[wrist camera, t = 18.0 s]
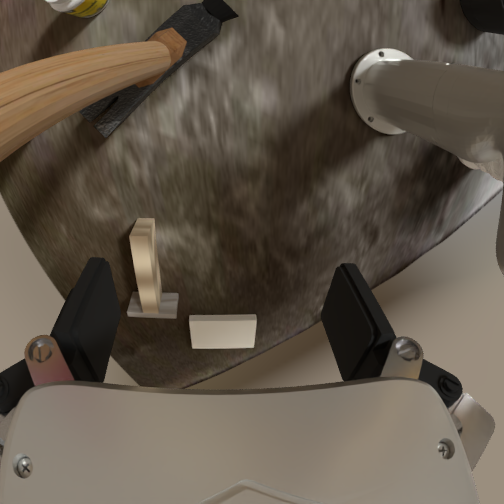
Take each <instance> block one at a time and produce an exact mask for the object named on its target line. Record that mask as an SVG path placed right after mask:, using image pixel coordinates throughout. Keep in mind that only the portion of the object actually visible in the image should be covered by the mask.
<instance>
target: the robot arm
mask: <svg viewBox="0 0 504 504" xmlns="http://www.w3.org/2000/svg"><path fill="white" fill-rule="evenodd" d="M355 80H357V82H355ZM350 95H351V100H352V103H353V106H354V108H355V110H356V112H357V114H358V115H359V116H360V118H361V119H362V120H363V121H364V122H365V123H366V124H367V125H368V126H370V127H371V128H373V129H375V130H377V131H379V132H381V133H385V134H394V135H396V134H401V133H404V132H409V133H411V134H413V135H416V136H418V137H420V138H422V139H424V140H426V141H428V142H430V143H433V144H435V145H437V146H439V147H441V148H443V149H444V150H446V151H448V152H450V153H452V154H454V155H456V156H458V157H460V158H461V159H464V160H466V161H469V162H472V163H486V162H490V161H493V160H496V159H498V158H500V157H503V162H504V71H500V70H493V69H487V68H481V67H475V66H468V65H461V64H453V63H445V62H436V61H425V60H413V59H412V58H411V57H409V56H408V55H407V54H405V53H403V52H401V51H399V50H396V49H392V48H379V49H375V50H372V51H370V52H368V53H366V54H364V55H363V56H362V57H361V58H360V59H359V60H358V62H357V63H356V65H355V66H354V69H353V71H352V73H351V78H350ZM368 118H369V120H368ZM503 183H504V176H503ZM496 257H497V262H498V265H499V268H500V270H501V272H502V274H503V275H504V185H503V195H502V205H501V211H500V219H499V225H498V231H497V239H496ZM120 315H121V311H120V306H119V303H118V299H117V295H116V291H115V287H114V282H113V278H112V274H111V269H110V265H109V262H108V261H105V259H104V258H97V257H91V258H90V259H89V261H88V262H87V264H86V266H85V268H84V270H83V272H82V274H81V276H80V278H79V280H78V282H77V284H76V285H75V287H74V288H73V289H72V290H71V291H70V293H69V295H68V297H67V299H66V301H65V303H64V305H63V307H62V309H61V312H60V314H59V316H58V318H57V321H56V323H55V325H54V327H53V330H52V332H51V334H50V336H48V335H40V336H37V337H35V338H33V339H32V340H31V341H30V342H29V343H28V344H27V346H26V348H25V359H23V360H21V361H20V362H18V363H16V364H14V365H13V366H11V367H10V368H8V369H6V370H4V371H3V372H1V373H0V504H480V502H479V498H478V494H477V489H476V485H475V482H474V478H473V474H472V471H473V469H474V467H475V466H476V464H477V462H478V461H479V459H480V457H481V455H482V453H483V452H484V450H485V448H486V446H487V444H488V442H489V440H490V438H491V436H492V434H493V432H494V429H495V422H494V419H493V417H492V416H491V415H490V414H489V413H488V412H487V411H486V410H485V409H484V408H483V407H482V406H481V405H479V404H478V403H477V402H476V401H475V400H474V399H473V398H472V397H471V396H470V395H468V394H467V393H465V394H463V393H462V385H461V383H460V381H459V380H458V379H457V377H455V376H454V375H452V374H451V373H449V372H447V371H445V370H443V369H441V368H439V367H437V366H436V365H434V364H432V363H430V362H428V361H426V360H424V359H423V350H422V348H421V346H420V345H419V344H418V343H417V342H416V341H415V340H413V339H411V338H408V337H398V338H396V336H395V334H394V331H393V329H392V327H391V325H390V324H389V322H388V320H387V318H386V316H385V314H384V313H383V311H382V309H381V307H380V305H379V304H378V302H377V300H376V298H375V297H374V295H373V293H372V291H371V290H370V288H369V286H368V284H367V283H366V281H365V279H364V278H363V276H362V274H361V273H360V271H359V269H358V268H357V266H356V265H355V264H354V263H342V264H341V265H340V267H337V268H336V270H335V273H334V276H333V279H332V283H331V286H330V289H329V292H328V295H327V297H326V300H325V303H324V306H323V309H322V312H321V319H322V322H323V325H324V328H325V331H326V334H327V336H328V339H329V342H330V345H331V347H332V350H333V353H334V356H335V359H336V362H337V365H338V368H339V371H340V374H341V377H342V379H343V381H344V382H336V383H326V384H317V385H307V386H297V387H284V388H267V389H244V390H243V389H242V390H241V389H240V390H195V389H192V390H191V389H168V388H152V387H140V386H128V385H117V384H108V383H103V381H104V379H105V374H106V370H107V366H108V362H109V357H110V353H111V350H112V346H113V342H114V338H115V334H116V331H117V327H118V323H119V320H120Z"/></svg>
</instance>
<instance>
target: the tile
mask: <svg viewBox="0 0 504 504" xmlns="http://www.w3.org/2000/svg"><path fill="white" fill-rule="evenodd" d="M256 323H257V318H256V314H247V315H189V325H190V333H191V341H192V348H193V349H215V348H254V341H255V332H256Z"/></svg>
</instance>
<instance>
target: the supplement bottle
mask: <svg viewBox="0 0 504 504" xmlns="http://www.w3.org/2000/svg"><path fill="white" fill-rule="evenodd" d="M45 1H46V2H49V3H50V5H51V7H52V8H53V9H55V10H57V11H59V12H63V13H67V14H71V15H74V16H78V17H82V18H88V17H92V16H95V15H97V14H98V13H100V12H101V11H102V10H103V9H104V8H105V7H106V5H107V4H108V2H109V0H45Z"/></svg>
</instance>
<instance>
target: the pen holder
mask: <svg viewBox="0 0 504 504" xmlns="http://www.w3.org/2000/svg"><path fill="white" fill-rule="evenodd" d="M460 2H461V6H462V9H463V12H464V14H465V16H466V17H467V19H468V20H469V22H470V23H471V24H472V25H473V26H474V27H475V28H477V29H478V30H480V31H483V32H490V33H496V34H503V35H504V0H460Z"/></svg>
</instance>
